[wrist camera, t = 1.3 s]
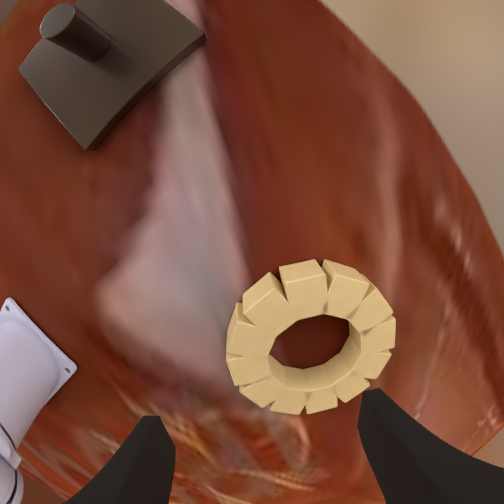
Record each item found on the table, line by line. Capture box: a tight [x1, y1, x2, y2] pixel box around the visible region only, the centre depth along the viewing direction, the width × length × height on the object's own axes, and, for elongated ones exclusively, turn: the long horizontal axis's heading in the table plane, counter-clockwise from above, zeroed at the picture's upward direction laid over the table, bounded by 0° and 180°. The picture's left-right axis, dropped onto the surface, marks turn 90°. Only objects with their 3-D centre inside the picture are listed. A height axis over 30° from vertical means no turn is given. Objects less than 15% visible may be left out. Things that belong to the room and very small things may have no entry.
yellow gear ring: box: [226, 259, 396, 415], centre depth 18 cm, size 10×10×2 cm
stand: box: [18, 0, 207, 151], centre depth 10 cm, size 9×9×6 cm
